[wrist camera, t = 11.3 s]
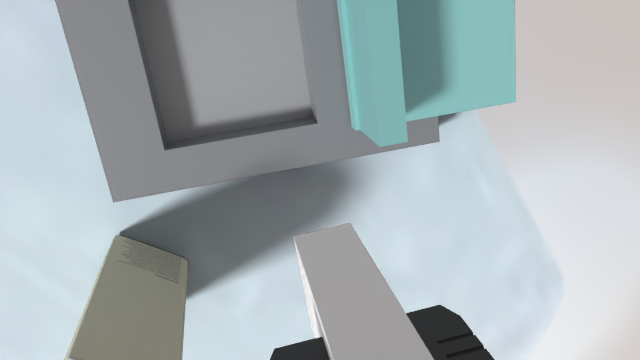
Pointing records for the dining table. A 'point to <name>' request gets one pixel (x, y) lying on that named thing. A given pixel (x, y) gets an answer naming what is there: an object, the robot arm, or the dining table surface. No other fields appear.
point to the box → (134, 306)
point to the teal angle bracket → (424, 60)
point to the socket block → (214, 90)
